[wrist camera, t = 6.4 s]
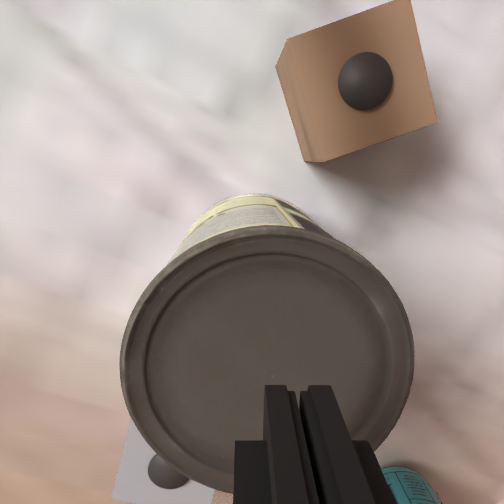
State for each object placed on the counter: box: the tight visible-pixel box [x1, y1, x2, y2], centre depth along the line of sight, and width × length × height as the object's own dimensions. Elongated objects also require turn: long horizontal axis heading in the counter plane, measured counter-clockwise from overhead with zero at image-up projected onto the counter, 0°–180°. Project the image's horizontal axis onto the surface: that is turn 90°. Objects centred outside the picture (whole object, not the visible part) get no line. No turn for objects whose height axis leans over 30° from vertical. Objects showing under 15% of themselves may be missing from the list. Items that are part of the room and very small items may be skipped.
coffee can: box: [120, 194, 414, 494], centre depth 21 cm, size 10×10×14 cm
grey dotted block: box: [111, 418, 215, 504], centre depth 27 cm, size 6×6×6 cm
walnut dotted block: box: [276, 0, 437, 162], centre depth 22 cm, size 6×6×6 cm
